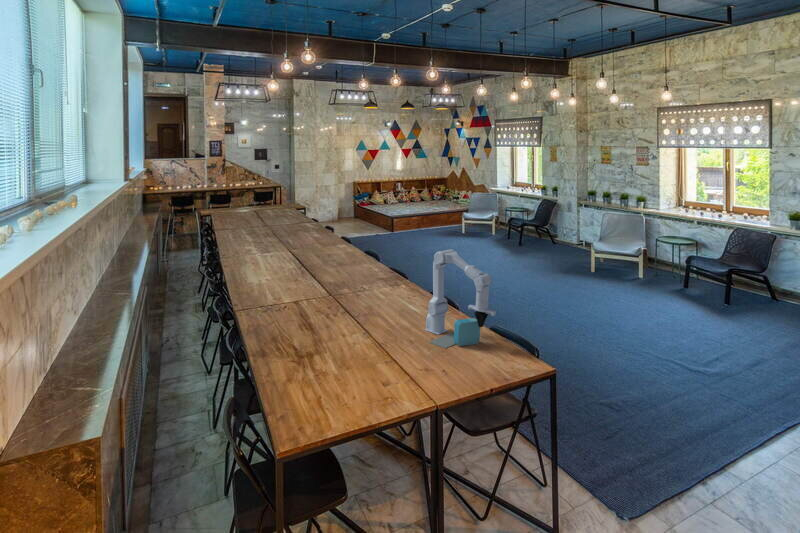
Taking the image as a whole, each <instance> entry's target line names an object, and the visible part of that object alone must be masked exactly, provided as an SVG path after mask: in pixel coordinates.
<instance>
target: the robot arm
mask: <svg viewBox="0 0 800 533" xmlns="http://www.w3.org/2000/svg"><path fill="white" fill-rule="evenodd" d="M448 264H454V265H456V266H457V267H458V268H460V269H461V270H462V271H464V275H466V277H468V278H469V279H470V280H472V281H473V284H474V285H475V291H476V295H475V304H468V306H467V310H472V311H475V312H473V314H474V317H475V319H477V322H478V326H479V327H480V328H483V327H484V324H485V321H486V319H487V317H488V316H489V315H490V316H492V317H494V316H496V315H497V312H496V310H493V309H491V308H489V296H490V295H489V292H490V285H491V284H492V281H493V279H492V276H491V275H490V274H489V273H487V272H486V273H484V272H483V271H482V270H480V269H479V268H477V266H476V265H475V264H474V265H473V264H468V263H467V262H466V261H465V259H463V258H462V257H461V256H459V255H458V252H457V251H455V250H454V249H452V248H450V249H446V250H442V251H441V250H440V251H436V252H435V253H434V255H433V262H432V291H433V292H432V294H433V295H432V297H431V299H430V300H429V302H428V308H427V312H428V314H427V315H426V319H425V320H426V321H425V322H426V323H425V329H424V330H425V331H426V332H430V333H433V334H435V335H441V334H443V333H447V332H448V331H449V330H448V329H446V328H445V325H446V315H447V313H448V312H449V311H448V310H449V304H448V299H447V298H446V297H445V285H444V284H445V273H444V272H445V269H444V268H445V267H446V266H448Z"/></svg>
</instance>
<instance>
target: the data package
mask: <svg viewBox="0 0 800 533" xmlns="http://www.w3.org/2000/svg"><path fill="white" fill-rule="evenodd" d="M453 330H454V331H453V332H454V342H455V343H456V344H455V345H458V346H459V347H464V346H472V345H478V344H479V343H480V337H481V327H479V326H478V322H477V319H476V317H471V318H463V319H457V320H455V322H454V328H453Z"/></svg>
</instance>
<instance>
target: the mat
mask: <svg viewBox="0 0 800 533" xmlns="http://www.w3.org/2000/svg"><path fill="white" fill-rule="evenodd" d="M428 343H429V344H431V345H435V346H437V347H441V348H443V349H445V348H446V349H448V348H450V347H453V346H454V345H457V344H456V343H455V342H454V331H452V332H449V333H447V334H445V335H442V336H440V337H438V338H435V339H433V340H429V341H428Z"/></svg>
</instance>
